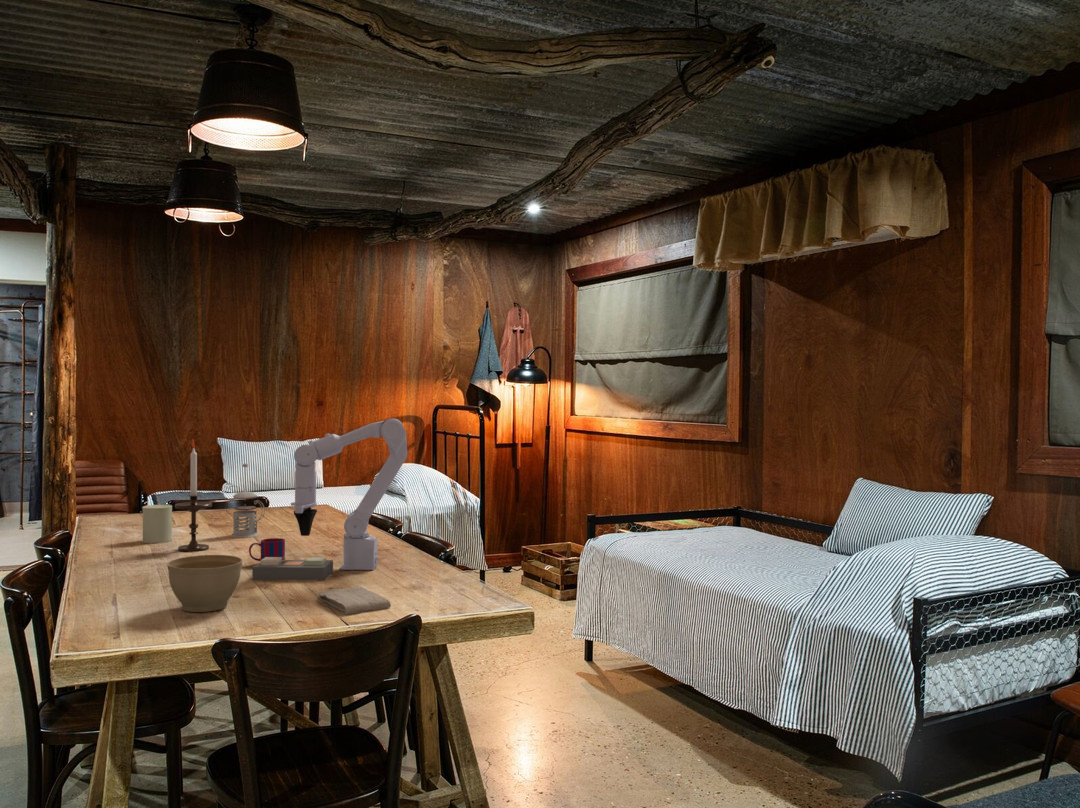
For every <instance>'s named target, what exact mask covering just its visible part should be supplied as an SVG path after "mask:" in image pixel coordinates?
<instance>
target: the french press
mask: <svg viewBox="0 0 1080 808" xmlns="http://www.w3.org/2000/svg"><path fill="white" fill-rule="evenodd" d="M242 467H243V468H244V491H239V492H238V493H237V492H236V493H235V494H234V495H232V498H233V499H239V500H240V499H241V500H242V499H243V500H246V499H255V498H258V495H257V494H255V493H254V492H252V491H247V489H246V483H247V482H246V471H247V469H246V468H248V467H249V465H248V463H243V464H242ZM253 503H254V505H257V504H259V505H260V508H261V510H263V513H261V514H260V517H259V518H258V511H257V510H256V508H257V507H256V506H254V505H248V506H247V505H244V506H243V505H242V506H235V507H234V510H235V511H233V518H232V519H233V520H232V521H233V528H232V529H233V531H232V532H233V533H232V534H230V538H236V539H237V538H238V539H239V538H240V539H246V538H256V537H259V536H260V533H259V532H258V522H259V521H261V520H262V519H263V517H264V516H265V510H266V509H265V505H264V503H263V502H262V501H260V500H259V499H257V500H254V501H253Z"/></svg>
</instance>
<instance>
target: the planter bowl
mask: <svg viewBox="0 0 1080 808" xmlns="http://www.w3.org/2000/svg"><path fill="white" fill-rule="evenodd" d="M242 564H243V559H242V558H241V557H240V556H239V557H238V556H235V555H227V554H201V555H194V556H193V555H192V556H191V555H190V556H184V557H179V558H178V557H177V558H174V559H172V560H169V561H168V562H167V564H166V565H167V571H168V580H169V584H170V588H171V590H172V592H173V594H174V596H175V598H177V600H178V601H179V602H180V604H181V607H182V610H183V611H186V612H189V613H207V612H208V613H209V612H214V611H219V610H222V609H225V608H226V607H227V605H228V601H229V600H230V598H231V597H232V595H234V593H235V591H236V589H237V587H238V584H239V582H240V578H241V570H242Z"/></svg>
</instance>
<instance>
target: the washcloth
mask: <svg viewBox="0 0 1080 808" xmlns="http://www.w3.org/2000/svg"><path fill="white" fill-rule="evenodd" d="M317 600H318V601H319V602H320V603H322V604H323V605H324V606H326V607H329V608H330V609H332V610H334V611H336V612H338V613H340V614H342V615H352V614H358V613H362V612H363V613H364V612H370V611H371V612H372V611H377V610H384V609H385V610H386V609H389V608H390V607H392V606H391V601H390V600H389V599H388V598H386V597H385V596H381V595H380V594H379V593H376V592H374V591H372V590H368V589H367V588H364V587H363V586H352V587H349V588H348V587H347V588H343V589H342V588H341V589H339V588H337V589H336V588H332V589H327V590H323V591H319V592H318V596H317Z"/></svg>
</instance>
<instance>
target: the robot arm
mask: <svg viewBox="0 0 1080 808" xmlns="http://www.w3.org/2000/svg"><path fill="white" fill-rule="evenodd" d="M368 438H374V439H375V438H376V439H380V438H383V440H384V441H385V442H386V445H387V448H388V451H389V456H388V458H387V459H386V460H385V462H384V464H383V465H382V468H381V469H380V470H379V472H378V474H377V475H376V477H375V478H374V480H373V481H372V483H371V485H370V486H369V488H368V490H367V491H366V493H365V495H364V496H363V498H362V500H361V501H360V502H359V504H358V505H357V507H356V509H355V510H354V511H351V512H350V513H349V514H348V515H347V516H346V517H347V518H346V519H345V520H344V524H343V529H344V531H345V534H343V564H342V565H341V566H340V567H339V570H340V571H342V570H343V571H345V570H346V571H347V570H348V571H349V570H350V571H351V570H352V571H355V570H356V571H372V570H374V569H375V568H377V566H378V565H379V563H378V562H379V560H378V559H379V557H378V555H379V554H378V553H379V552H378V549H379V548H378V547H379V546H378V545H379V544H378V543H379V542H378V537H376V536H371V535H370V532H368V530H367V529H368V526H369V520H370V518H371V517H372V515H373V513H374V511H375V510H376V508H377V506H378V505H379V503H380V502H381V500H382V499H383V496H384V495H385V493H387V491H388V489H389V487H390V485H391V484H392V482H393V480H394V479H395V477H396V475H397V474H398V472H399V471H400V469H401V468H402V466H403V465H404V463H405V461H406V459H407V457H408V441H407V440H408V439H407V431H406V429H405V426H404V424H403V423H402V421H400V419H398V418H394V417H393V418H388V419H387V420H381V421H376V422H373V423H372V422H371V423H369V424H368V423H367V424H366V425H363V426H362V427H359V428H356V429H354V430H352V431H350V432H347V433H344V434H342V435H337V434H336V433H329V432H328V433H326V434H324V437H321V438H319V439H316V440H309V441H308V444H302V445H300V446H298V447H297V448H296V449H295V451H294V454H293V459H294V460H295V466H294V468H295V472H294V502H291V503H290V507H291V506H292V507H293V506H294V511H293V515H294V518H296V521H297V523H298V528H299V533H300V536H301V537H309V536H310V535H311V531H312V525H313V522H314V519H315V516H316V515H317V513H318V509H316V508H315V507H317V504H318V503H317V471H316V461H317V460H318V461H322V460H324V459H328V458H330V457H332V456H334V455H338V454H340V453H342V451H343V448H344V447H345V446H348V445H351V444H354V443H356V442H359V441H362V440H365V439H368ZM313 507H314V508H313Z"/></svg>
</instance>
